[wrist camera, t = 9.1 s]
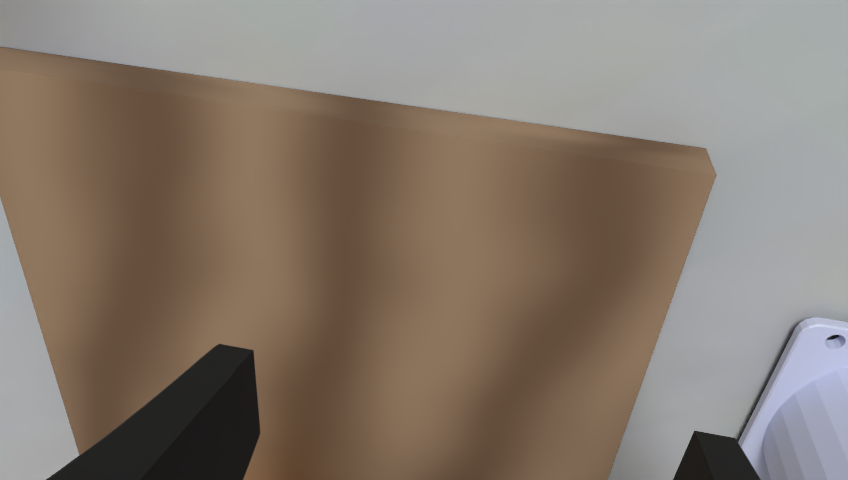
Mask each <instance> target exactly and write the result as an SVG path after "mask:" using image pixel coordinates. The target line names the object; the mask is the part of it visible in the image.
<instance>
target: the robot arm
mask: <svg viewBox="0 0 848 480" xmlns="http://www.w3.org/2000/svg"><path fill="white" fill-rule="evenodd" d="M832 335H839V336H838V337H837V338H835V339H833V340H826V339H827V338H828V337H830V336H832ZM259 436H260V421H259V409H258V398H257V386H256V374H255V362H254V351H253V350H251V349H245V348H240V347H234V346H229V345H223V344H218V345H216V346H215V347H213V348H212V349H211V350H210V351H209V352H207V353H206V354H205V355H204V356H203V357H201V358H200V359H199V360H198V361H197V362H196V363H194V364H193V365H192V366H191V367H190V368H189V369H187V370H186V371H185V372H184V373H183V374H181V375H180V376H179V377H178V378H177V379H176V380H174V381H173V382H172V383H171V384H170V385H168V386H167V387H166V388H165V389H164V390H162V391H161V392H160V393H159V394H158V395H156V396H155V397H154V398H153V399H152V400H150V401H149V402H148V403H147V404H145V405H144V406H143V407H142V408H140V409H139V410H138V411H137V412H135V413H134V414H133V415H132V416H130V417H129V418H128V419H127V420H125V421H124V422H123V423H122V424H120V425H119V426H118V427H117V428H115V429H114V430H113V431H112V432H110V433H109V434H108V435H107V436H105V437H104V438H103V439H101V440H100V441H99V442H97V443H96V444H95V445H93V446H92V447H90V448H89V449H88V450H86V451H85V452H84V453H82V454H81V455H80V456H78V457H77V458H75V459H74V460H73V461H71V462H70V463H69V464H67V465H66V466H65V467H63V468H62V469H60V470H59V471H58V472H56V473H55V474H53V475H52V476H51V477H49V478H48V479H46V480H243V479H244V476H245V474H246V471H247V468H248V466H249V463H250V461H251V458H252V455H253V452H254V450H255V447H256V444H257V441H258V439H259ZM673 480H848V322H843V321H837V320H831V319H825V318H809V319H805V320H804V321H802V322H800V323H799V324H798V325H797V327H796V328H795V330H794V332H793V334H792V336H791V338H790V340H789V342H788V344H787V346H786V348H785V350H784V352H783V354H782V356H781V358H780V360H779V362H778V364H777V366H776V368H775V370H774V372H773V374H772V376H771V378H770V380H769V382H768V384H767V386H766V388H765V390H764V392H763V394H762V396H761V398H760V400H759V402H758V404H757V406H756V408H755V410H754V411H753V413H752V415H751V417H750V419H749V421H748V423H747V425H746V427H745V429H744V431H743V433H742V435H741V437H740V439H739V441H738V442H737V441H736V439H735V438H731V437H726V436H720V435H715V434H709V433H704V432H698V431H694V433H693V435H692V438H691V440H690V442H689V445H688V447H687V449H686V451H685V454H684V456H683V458H682V461H681V463H680V465H679V467H678V470H677V472H676V474H675V477H674V479H673Z"/></svg>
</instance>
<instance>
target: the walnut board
mask: <svg viewBox="0 0 848 480" xmlns="http://www.w3.org/2000/svg"><path fill="white" fill-rule="evenodd" d="M715 177H716V173H715V170H714V168H713V165H712V163H711V160H710V158H709V155H708V153H707V150H706V148H699V147H692V146H685V145H678V144H671V143H664V142H657V141H650V140H643V139H637V138H630V137H623V136H616V135H609V134H602V133H595V132H588V131H581V130H574V129H567V128H560V127H553V126H546V125H539V124H532V123H525V122H518V121H512V120H505V119H498V118H491V117H484V116H477V115H470V114H463V113H456V112H449V111H442V110H435V109H428V108H421V107H414V106H407V105H400V104H393V103H387V102H380V101H373V100H366V99H359V98H352V97H345V96H338V95H331V94H324V93H317V92H310V91H303V90H296V89H289V88H282V87H275V86H268V85H262V84H255V83H248V82H241V81H234V80H227V79H220V78H213V77H206V76H199V75H192V74H185V73H178V72H171V71H164V70H157V69H150V68H143V67H137V66H130V65H123V64H116V63H109V62H102V61H95V60H88V59H81V58H74V57H67V56H60V55H53V54H46V53H39V52H32V51H25V50H19V49H12V48H5V47H0V197H1V201H2V204H3V207H4V210H5V214H6V217H7V220H8V224H9V227H10V230H11V233H12V237H13V240H14V243H15V246H16V250H17V253H18V256H19V259H20V263H21V266H22V269H23V272H24V276H25V279H26V282H27V285H28V289H29V292H30V295H31V298H32V302H33V305H34V308H35V311H36V315H37V318H38V321H39V324H40V328H41V331H42V334H43V337H44V341H45V344H46V347H47V350H48V354H49V357H50V360H51V364H52V367H53V370H54V373H55V377H56V380H57V383H58V386H59V390H60V393H61V396H62V399H63V403H64V406H65V409H66V412H67V416H68V419H69V422H70V425H71V429H72V432H73V435H74V438H75V442H76V445H77V448H78V451H79V455H81V454H82V453H84V452H85V451H86V450H88V449H89V448H90V447H92V446H93V445H95V444H96V443H97V442H99V441H100V440H101V439H103V438H104V437H105V436H107V435H108V434H109V433H110V432H112V431H113V430H114V429H115V428H117V427H118V426H119V425H120V424H122V423H123V422H124V421H125V420H127V419H128V418H129V417H130V416H132V415H133V414H134V413H135V412H137V411H138V410H139V409H140V408H142V407H143V406H144V405H145V404H147V403H148V402H149V401H150V400H152V399H153V398H154V397H155V396H156V395H158V394H159V393H160V392H161V391H162V390H164V389H165V388H166V387H167V386H168V385H170V384H171V383H172V382H173V381H174V380H176V379H177V378H178V377H179V376H180V375H181V374H183V373H184V372H185V371H186V370H187V369H189V368H190V367H191V366H192V365H193V364H194V363H196V362H197V361H198V360H199V359H200V358H201V357H203V356H204V355H205V354H206V353H207V352H209V351H210V350H211V349H212V348H213V347H215V346H216V345H218V344H223V345H229V346H234V347H240V348H245V349H251V350H253V351H254V362H255V374H256V386H257V398H258V409H259V421H260V436H259V439H258V441H257V444H256V447H255V450H254V452H253V455H252V458H251V461H250V463H249V466H248V468H247V471H246V474H245V476H244V479H243V480H607V479H608V476H609V473H610V471H611V468H612V465H613V462H614V459H615V457H616V454H617V451H618V448H619V445H620V443H621V440H622V437H623V434H624V431H625V429H626V426H627V423H628V420H629V418H630V415H631V412H632V409H633V406H634V404H635V401H636V398H637V395H638V392H639V390H640V387H641V384H642V381H643V378H644V376H645V373H646V370H647V367H648V364H649V362H650V359H651V356H652V353H653V350H654V348H655V345H656V342H657V339H658V337H659V334H660V331H661V328H662V325H663V323H664V320H665V317H666V314H667V311H668V309H669V306H670V303H671V300H672V297H673V295H674V292H675V289H676V286H677V283H678V281H679V278H680V275H681V272H682V269H683V267H684V264H685V261H686V258H687V256H688V253H689V250H690V247H691V244H692V242H693V239H694V236H695V233H696V230H697V228H698V225H699V222H700V219H701V216H702V214H703V211H704V208H705V205H706V202H707V200H708V197H709V194H710V191H711V188H712V186H713V183H714V180H715Z"/></svg>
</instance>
